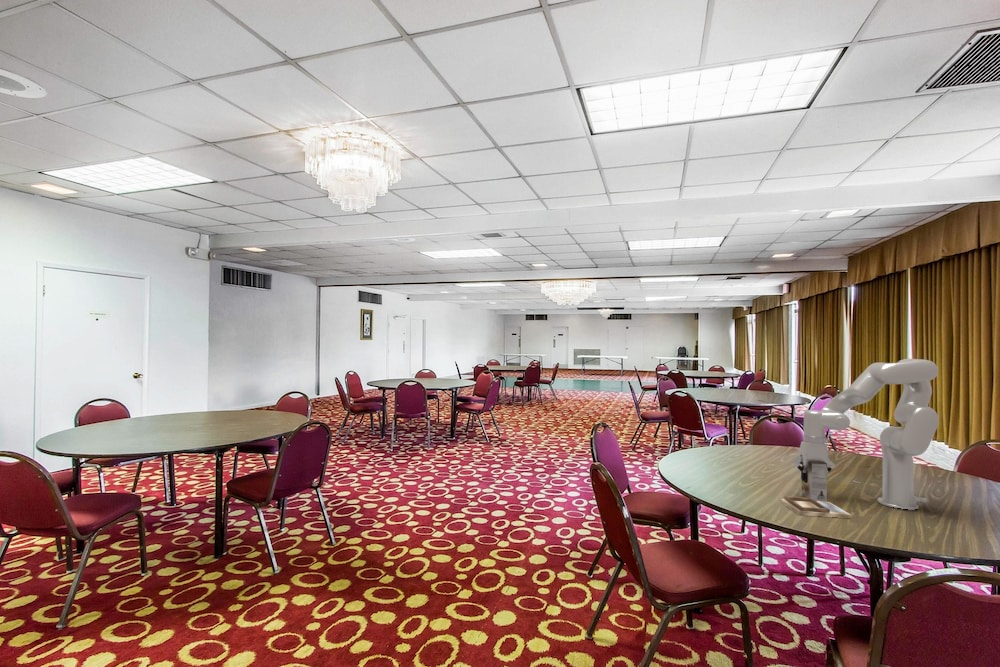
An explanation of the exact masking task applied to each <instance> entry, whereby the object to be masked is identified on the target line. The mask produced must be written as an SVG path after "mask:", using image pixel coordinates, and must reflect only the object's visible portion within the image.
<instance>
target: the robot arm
mask: <svg viewBox="0 0 1000 667" xmlns="http://www.w3.org/2000/svg"><path fill="white" fill-rule="evenodd" d="M938 375H939V368H938V365H937V364H936V363H935V362H933V361H932V360H929V359H923V358H921V359H920V358H919V359H918V358H904V359H901V360H898V361H897V362H873V363H871V364H870V365H869V366H867V367H866V368H865V370H864V371H862V373H861V374H859V376H857V378H856V379H855V380H854V381H853V383H851V384H850V385H849V386H848V388H846V389H844V390H843V391H841V392H839V393H838V394H837V395H835V396H834V397H832V398H831V399H830V400H829V401H828V402H827V403H826V404H825V405H824V406H823V407H822V408H821V409H820V410H815V409H807V410H804V412H803V441H801V442H800V445H799V449H798V450H799V451H798V457H797V459H795V460H794V461H793V462H792V463H793V465H794V466H795V467H796V468H797V469H798V470H799V471H800V479H801V482H802V481H804V482H805V483H807V481H808V474H807V473H806V471H807V467H808V463H809V461H820V462H826V463H827V475H829V473H830V472H831V471H832V470H833V469H834V468H835V467H836V464H835V463H834V462H833V461H832V460H830V454H829V449H828V444H827V443H826V442H828V441H829V438H828V437H827V436H826V429H829V430H833V431H834V430H835V431H844V430H846V429H848V428H849V427H850V424H851V419H850V417H848V415H847V414H845V413H846V412H847V411H848V410H850V409H851V408H854V407H856V406H860V405H863V404H866V403H869V402H870V401H872V399H873V398H874V397H875V396H876V394H878V393H879V392H880V391H881V389H883V388H884V387H885V385H903V390H902V393H901V395H900V398H899V401H898V402H897V405H896V407H895V409H894V413H893V418H894V419H895V421H896V422H897V423H898V424H901V425H903V427H900V426H887V427H886V428H884V429H883V430H882V431H881V433H880V436H879V440H880V441H879V442H880V446H881V454H882V491H881V492H882V493H881V494H882V495H881V497H880V496H879V497H877V502H878V503H879V504H880V505H883V506H886V507H889V508H893V507H894V508H893V509H897V508H901V509H900V510H903V509H908V510H907V511H916V510H915V509H918V508H919V503H920V504H927V503H928V499H927V498H926V497H918V496H916V495H915V494H914V466H915V464H914V457H915V456H921V455H923V454H924V453H925V452H926V451H927V450H928V448H929V447H930V444H931V443H932V440H933V438H934V435H935V433H936V431H937V429H938V427H939V422H940V421H939V420H940V419H939V415H938V413H937V412H936V410H935V409H933V408H932V407H930V406H929V404H930V400H931V397H932V394H933V390H932V389H933V388H932V385H931V383H930V381H932V380H934V379H935V378H936V377H937V376H938ZM918 510H919V509H918Z"/></svg>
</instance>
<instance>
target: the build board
mask: <svg viewBox="0 0 1000 667" xmlns="http://www.w3.org/2000/svg"><path fill="white" fill-rule="evenodd" d="M783 497H784V498H780V503H781V504H782V505H784V506H785V507H787V508H788V509H790V510H791V511H792V512H794V513H795V514H797V515H798V516H801V517H802V516H806V517H817V516H821V517H820V518H832V517H838V518H837V519H847V518H851V519H852V514H850V513H849V512H847V511H845V510H844V509H842V508H840V507H839V506H837V505H835V504H833V503H832V502H830V501H827V502H825V501H815V500H813V499H812V498H807V497H799V496H783Z"/></svg>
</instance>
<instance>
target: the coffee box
mask: <svg viewBox="0 0 1000 667" xmlns="http://www.w3.org/2000/svg"><path fill="white" fill-rule="evenodd" d="M806 473H807V474H808V481H807V483H805V482H804V481H802V480H801V494H802V495H803V496H804V498H812V499H813V500H815V501H825V502H828V499H827V498H828V496H827V495H828V494H827V493H828V474H827V463H826V462H820V461H809V463H808V467H807V471H806Z"/></svg>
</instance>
